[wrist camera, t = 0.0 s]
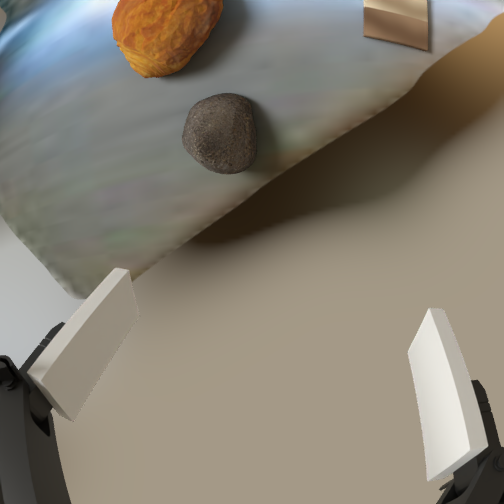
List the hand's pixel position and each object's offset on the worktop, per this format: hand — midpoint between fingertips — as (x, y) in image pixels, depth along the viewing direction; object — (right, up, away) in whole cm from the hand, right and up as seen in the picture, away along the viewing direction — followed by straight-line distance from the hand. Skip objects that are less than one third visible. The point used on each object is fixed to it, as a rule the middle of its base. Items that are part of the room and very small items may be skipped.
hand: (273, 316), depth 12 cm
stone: (-4, +18, +24) cm, 30 cm away
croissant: (-11, +33, +17) cm, 38 cm away
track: (+16, +34, +10) cm, 39 cm away
